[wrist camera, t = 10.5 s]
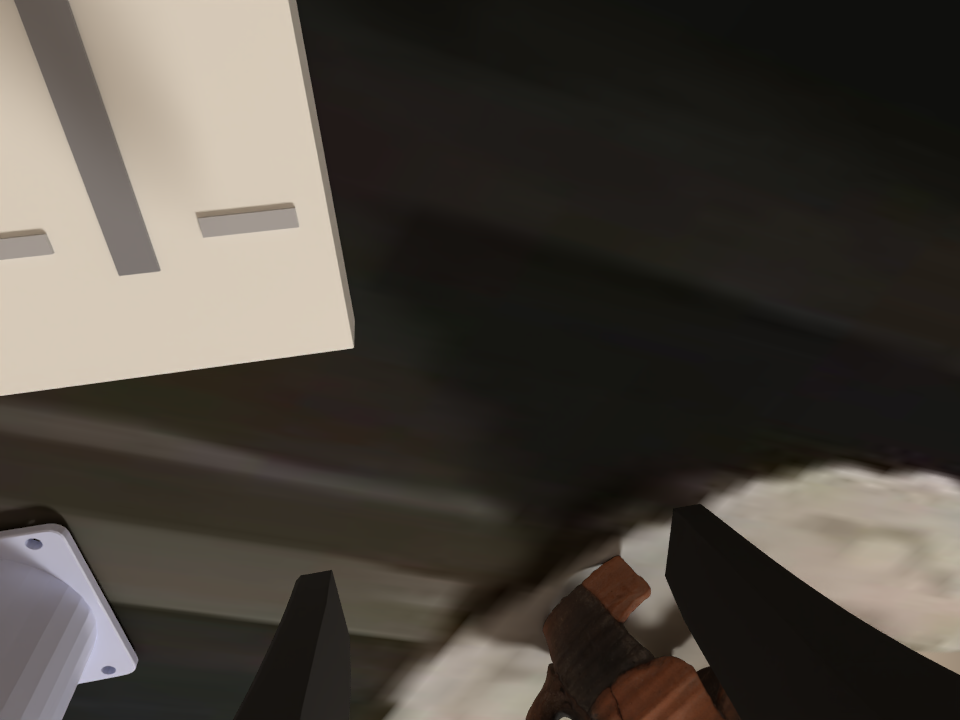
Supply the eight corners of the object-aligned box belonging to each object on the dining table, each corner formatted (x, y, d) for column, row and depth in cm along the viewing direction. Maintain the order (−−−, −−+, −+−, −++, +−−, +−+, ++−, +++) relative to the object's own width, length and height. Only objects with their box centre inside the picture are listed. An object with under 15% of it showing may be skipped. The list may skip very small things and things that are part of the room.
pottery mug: (661, 501, 26) (826, 667, 22) (664, 549, 34) (786, 678, 30) (450, 687, 25) (580, 904, 21) (504, 692, 33) (607, 850, 28)
